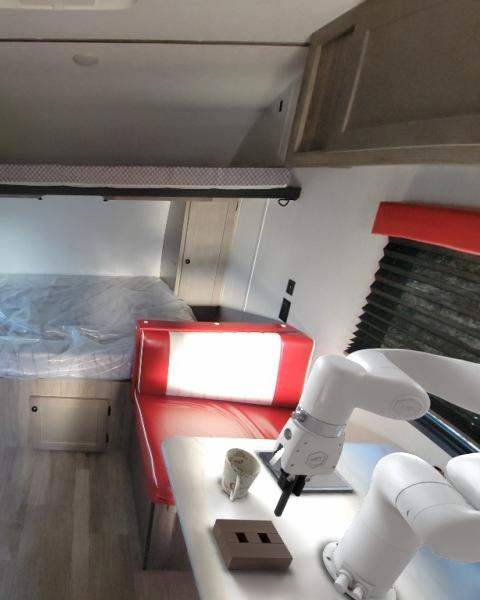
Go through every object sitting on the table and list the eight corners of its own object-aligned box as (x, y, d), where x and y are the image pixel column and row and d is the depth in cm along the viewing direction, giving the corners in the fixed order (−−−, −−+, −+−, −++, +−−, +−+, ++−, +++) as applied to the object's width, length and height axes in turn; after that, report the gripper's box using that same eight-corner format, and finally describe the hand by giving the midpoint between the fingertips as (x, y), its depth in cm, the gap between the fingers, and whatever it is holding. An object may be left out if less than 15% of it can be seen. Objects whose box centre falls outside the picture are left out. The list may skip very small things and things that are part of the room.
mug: (250, 483, 92) (260, 456, 88) (248, 522, 81) (260, 493, 77) (218, 470, 95) (227, 443, 91) (213, 505, 84) (223, 476, 81)
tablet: (317, 454, 105) (318, 452, 104) (352, 491, 93) (353, 489, 92) (258, 453, 102) (259, 451, 102) (286, 492, 90) (287, 489, 90)
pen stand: (287, 570, 72) (293, 558, 70) (227, 569, 71) (232, 557, 69) (266, 531, 79) (271, 520, 78) (212, 530, 78) (216, 518, 77)
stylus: (278, 519, 70) (298, 474, 65) (271, 514, 71) (291, 469, 66) (281, 516, 71) (302, 471, 66) (275, 510, 72) (294, 466, 67)
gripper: (291, 432, 58) (261, 506, 64) (375, 435, 59) (337, 508, 65) (267, 403, 65) (242, 473, 71) (343, 407, 66) (311, 475, 72)
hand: (288, 489), depth 68 cm, fingers closed on stylus, 1 cm apart
